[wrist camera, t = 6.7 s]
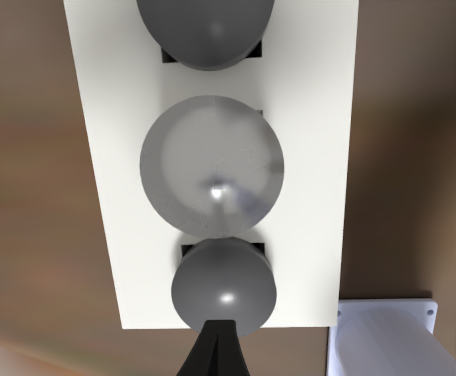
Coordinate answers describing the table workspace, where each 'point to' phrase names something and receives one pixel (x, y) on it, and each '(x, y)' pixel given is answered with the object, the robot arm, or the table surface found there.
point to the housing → (253, 97)
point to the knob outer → (207, 29)
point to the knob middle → (211, 166)
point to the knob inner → (224, 285)
